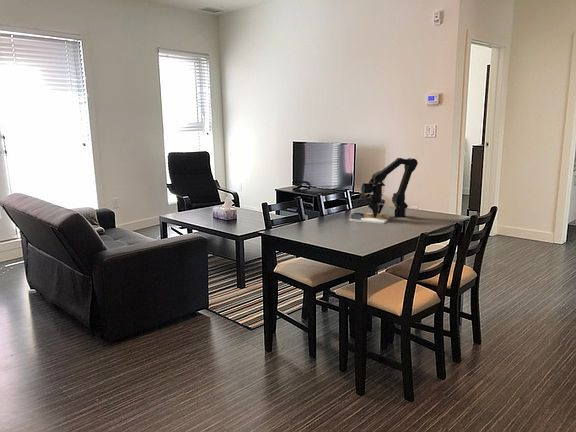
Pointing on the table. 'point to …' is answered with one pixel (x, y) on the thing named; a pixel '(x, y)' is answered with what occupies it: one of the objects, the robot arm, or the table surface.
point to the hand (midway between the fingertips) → (376, 216)
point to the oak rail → (376, 216)
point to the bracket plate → (366, 219)
